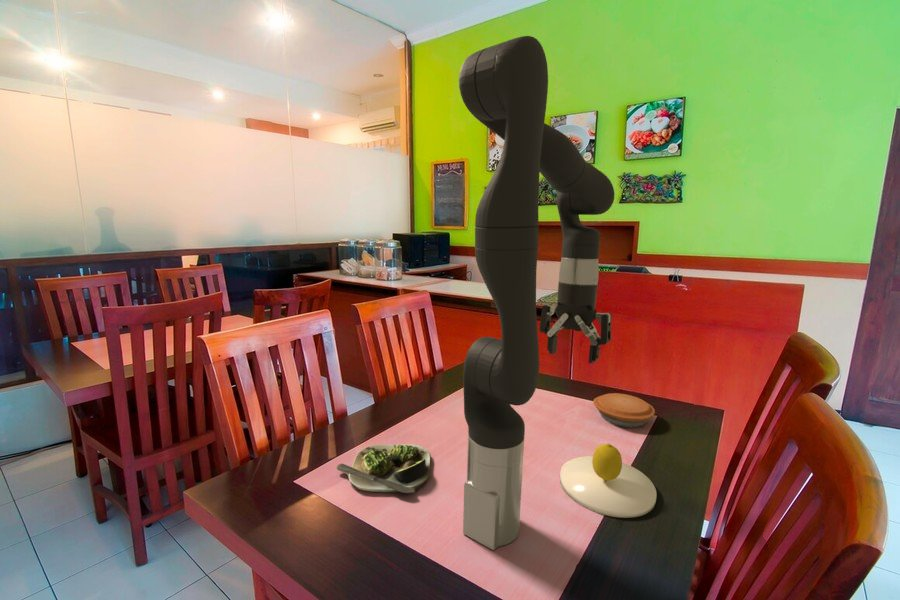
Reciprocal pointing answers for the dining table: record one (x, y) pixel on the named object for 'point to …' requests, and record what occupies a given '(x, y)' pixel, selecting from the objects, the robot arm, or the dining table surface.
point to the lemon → (607, 462)
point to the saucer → (608, 489)
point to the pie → (624, 409)
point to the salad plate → (389, 468)
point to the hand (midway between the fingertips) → (571, 357)
